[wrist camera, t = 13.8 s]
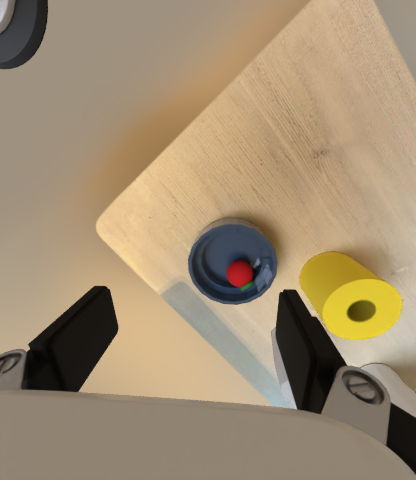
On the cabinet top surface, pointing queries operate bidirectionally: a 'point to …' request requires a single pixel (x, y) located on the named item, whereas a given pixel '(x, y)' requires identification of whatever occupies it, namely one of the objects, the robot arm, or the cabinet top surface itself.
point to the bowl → (231, 260)
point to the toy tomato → (240, 274)
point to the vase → (394, 387)
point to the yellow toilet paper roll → (349, 296)
